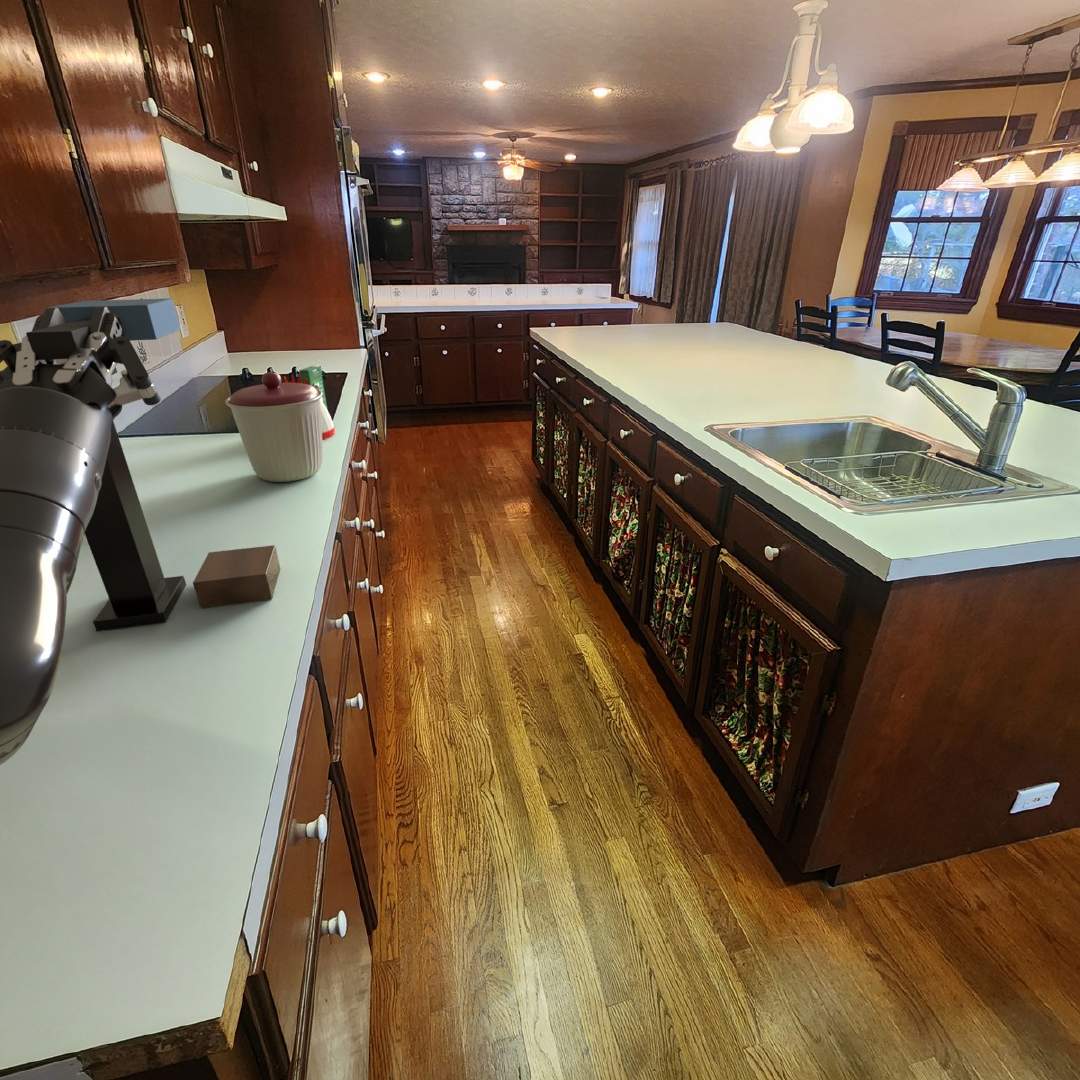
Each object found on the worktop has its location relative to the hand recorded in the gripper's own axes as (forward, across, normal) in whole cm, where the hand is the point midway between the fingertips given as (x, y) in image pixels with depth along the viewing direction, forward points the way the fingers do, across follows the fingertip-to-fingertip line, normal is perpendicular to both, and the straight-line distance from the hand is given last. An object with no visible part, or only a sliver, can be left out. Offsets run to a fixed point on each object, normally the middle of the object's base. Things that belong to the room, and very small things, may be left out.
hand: (82, 317), depth 51 cm
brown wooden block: (-1, -1, +43) cm, 43 cm away
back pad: (+1, 0, +3) cm, 4 cm away
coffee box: (+85, -4, +93) cm, 126 cm away
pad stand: (-3, +11, +42) cm, 44 cm away
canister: (+40, -2, +67) cm, 79 cm away
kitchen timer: (+66, -3, +82) cm, 106 cm away
